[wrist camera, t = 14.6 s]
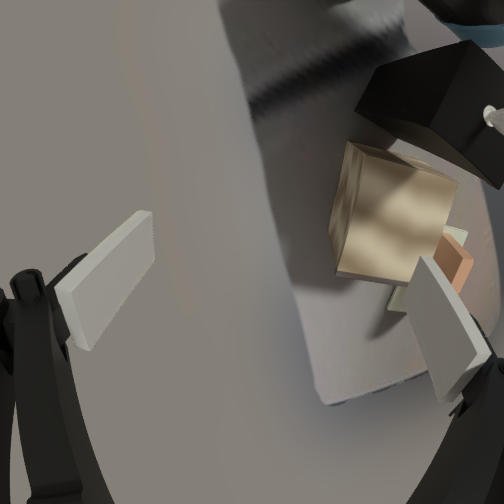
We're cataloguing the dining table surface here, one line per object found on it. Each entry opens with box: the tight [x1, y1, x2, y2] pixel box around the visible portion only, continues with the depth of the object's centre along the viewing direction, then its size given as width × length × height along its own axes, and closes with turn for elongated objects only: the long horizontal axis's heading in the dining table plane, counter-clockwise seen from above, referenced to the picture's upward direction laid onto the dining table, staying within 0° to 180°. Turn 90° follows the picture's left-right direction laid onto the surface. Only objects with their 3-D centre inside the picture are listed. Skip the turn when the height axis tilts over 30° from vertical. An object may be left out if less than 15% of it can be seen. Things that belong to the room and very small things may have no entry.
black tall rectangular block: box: [354, 39, 504, 190], centre depth 23 cm, size 8×8×28 cm
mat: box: [386, 225, 468, 312], centre depth 46 cm, size 18×10×1 cm, turn 173°
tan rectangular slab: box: [433, 232, 474, 295], centre depth 42 cm, size 16×2×9 cm, turn 173°
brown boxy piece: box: [328, 141, 459, 287], centre depth 37 cm, size 15×12×12 cm
